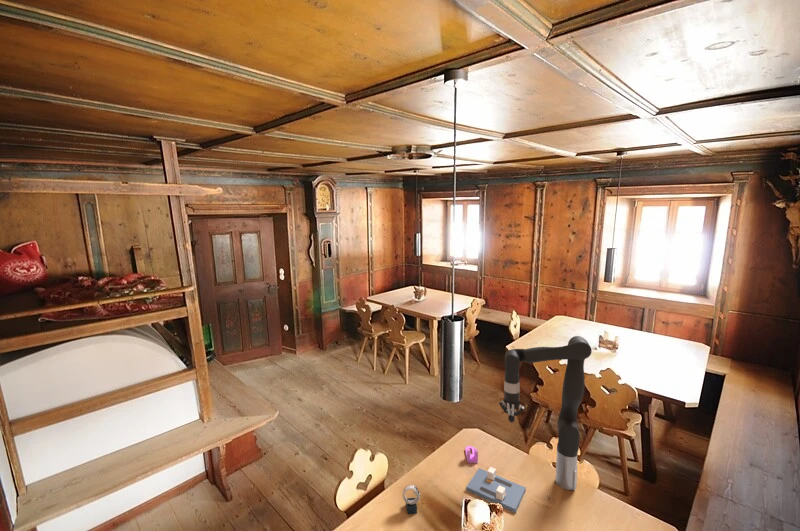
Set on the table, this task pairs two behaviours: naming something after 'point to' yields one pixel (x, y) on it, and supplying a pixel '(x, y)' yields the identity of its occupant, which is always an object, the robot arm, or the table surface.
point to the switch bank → (488, 489)
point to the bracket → (471, 457)
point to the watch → (411, 499)
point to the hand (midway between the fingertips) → (511, 421)
